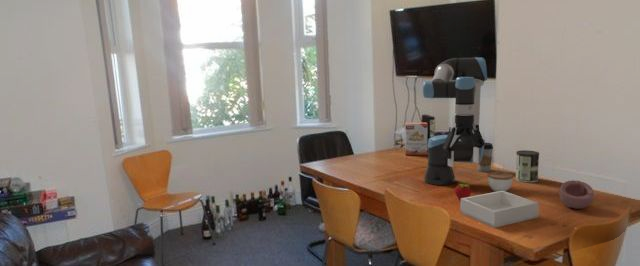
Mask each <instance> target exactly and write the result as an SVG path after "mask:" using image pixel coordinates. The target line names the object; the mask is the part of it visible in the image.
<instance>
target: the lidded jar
mask: <svg viewBox="0 0 640 266" xmlns="http://www.w3.org/2000/svg"><path fill="white" fill-rule="evenodd" d="M513 178H514V175H513V174H512V173H510V172H506V171H502V170H499V171H489V172H487V182H488V186H489V187H490V189H491V190H492V191H493V192H497V191H505V192H507V191H508V190H510V189H511V187H512V185H513Z"/></svg>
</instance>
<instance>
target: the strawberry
mask: <svg viewBox="0 0 640 266" xmlns="http://www.w3.org/2000/svg"><path fill="white" fill-rule="evenodd" d="M465 182H466V180H464V182H463V183H458V184H457V186H455V188H454V194H455V196H456V197H457V199H458V200H459V202H460V203H461V198H466V197H471V194H472V189H471V188H470V187H471V186H470V184H468V183H466V184H465Z"/></svg>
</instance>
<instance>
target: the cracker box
mask: <svg viewBox="0 0 640 266" xmlns="http://www.w3.org/2000/svg"><path fill="white" fill-rule="evenodd" d="M428 124H429V123H427V122H405V124H404V126H405V129H404V130H405V135H404V137H405V139H404V144H405V145H404V146H405V147H404V149H405V150H404V155H405V156H428V126H429V125H428Z"/></svg>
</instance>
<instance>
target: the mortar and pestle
mask: <svg viewBox="0 0 640 266" xmlns="http://www.w3.org/2000/svg"><path fill="white" fill-rule="evenodd" d="M558 190H559V191H558V193H559V198H560V200H561V202H562V203H563V204H564V205H565V206H567V207H568V208H572V209H577V210H580V209H585V208H586V207H588V206H589V205H591V204H592V202H593V200H594V196H595V195H594V194H595V192H594V189H593V188H592V186H591V185H590V184H588V183H587V182H583V181H581V180H574V179H571V180H567V181H565V182H563V183H562V184H561V185H560V187H559V189H558Z"/></svg>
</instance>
